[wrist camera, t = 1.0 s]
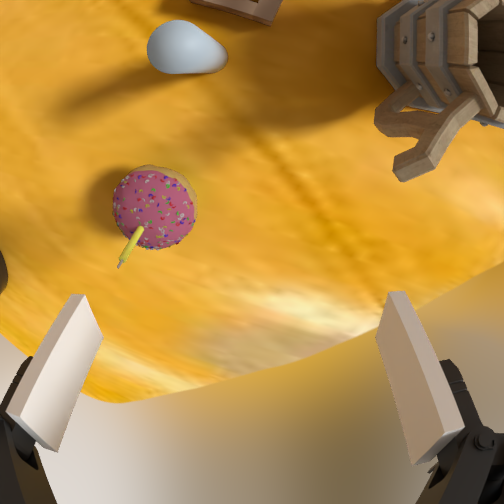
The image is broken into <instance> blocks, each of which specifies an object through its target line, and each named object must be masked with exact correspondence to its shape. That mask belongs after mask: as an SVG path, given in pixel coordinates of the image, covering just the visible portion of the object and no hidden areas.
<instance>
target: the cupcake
mask: <svg viewBox="0 0 504 504" xmlns="http://www.w3.org/2000/svg"><path fill="white" fill-rule="evenodd" d="M113 215H114V217H115V220H116V222H117V226H118V227H119V228H120V230H121V231H122V232H123V235H125V237H126V236H127V237H126V238H128V239H129V242H128V244H127V245H126V247H125V249H124V250H123V252H122V254H121V255H120V257H119V261H120V262H119V264H118V266H117V268H119V267H120V266H121V264H122V263H125V262H126V260H127V258H128V257H129V255H130V253H131V251H132V250H133V248H134V246H135V245H136V246H139V247H140V245H141V247H142V248H144V247H145V248H147V249H146V250H148V249H149V248H150V250H153V249H156V250H159V249H162V248H166V247H171V245H174V244H178V243H179V242H180V241H181V240H182V239H183V238H184V237H185V236H187V235H188V233H189V232H190V231H191V230H192V228H193V225H194V222H195V220H196V218H197V196H196V193H195V191H194V190H193V188H192V187H191V185H190V183H189V182H188V180H187V179H186V178H185V177H184V176H183V175H181V174H180V173H178V172H176V171H173V170H171V169H168V168H164V167H157V166H153V165H144V166H140V167H138V168H135V169H134V170H132V171H131V172H130V173H129V174H128V175H127V176H126V177H125V178H124V179H122V180H121V183H120V184H119V185H118V186H117V187H116V188H115V190H114V197H113Z"/></svg>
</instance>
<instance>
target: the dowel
mask: <svg viewBox="0 0 504 504" xmlns="http://www.w3.org/2000/svg"><path fill="white" fill-rule="evenodd" d="M147 55H148V58H149V61H150V62H151V64H152V65H153V66H154V67H155V68H156V69H158V70H159V71H161V72H164V73H168V74H181V73H215V72H218V71H220V70H221V69H223V68H224V67H225V65H226V63H227V61H228V54H227V51H226V49H225V48H224V47H223V46H222V45H221V44H219V43H218V42H217V41H215V40H214V39H213V38H212V37H210V36H209V35H208V34H206V33H205V32H203V31H202V30H201V29H199V28H198V27H197V26H195V25H194V24H192V23H190V22H188V21H184V20H173V21H169V22H166V23H164V24H162V25H161V26H159V27H158V28H157V29H156V30H155V31H154V32H153V33H152V35H151V36H150V38H149V41H148V44H147Z"/></svg>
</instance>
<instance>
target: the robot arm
mask: <svg viewBox="0 0 504 504" xmlns="http://www.w3.org/2000/svg"><path fill="white" fill-rule="evenodd" d="M7 282H8V273H7V268H6V264H5V261H4V258H3V256H2V253H1V251H0V294H1V293H2V292H3V290H4V289H5V288H6V286H7ZM103 338H104V337H103V335H102V333H101V331H100V329H99V326H98V324H97V322H96V320H95V317H94V315H93V313H92V311H91V308H90V306H89V303H88V301H87V299H86V296H85V295H83V294H71V296H70V297H69V299H68V300H67V302H66V304H65V305H64V307H63V308H62V310H61V311H60V313H59V315H58V316H57V318H56V319H55V321H54V323H53V324H52V326H51V328H50V329H49V331H48V333H47V334H46V336H45V338H44V339H43V341H42V343H41V345H40V346H39V348H38V350H37V352H36V353H35V355H34V357H32V356H29V357H28V358H27V359H26V360H25V361H24V362H23V363H22V364H21V366H20V368H19V370H18V372H17V373H16V374H17V375H16V376H15V377H14V379H13V383H11V385H10V387H9V389H8V391H7V393H6V395H5V397H4V399H3V401H2V403H1V405H0V504H57V502H56V500H55V497H54V495H53V492H52V490H51V487H50V485H49V482H48V480H47V477H46V474H45V471H44V468H43V466H42V463H41V460H40V457H39V453H38V451H37V449H36V447H35V446H34V444H35V442H36V441H37V442H38V443H39V444H40V445H41V446H42V447H43V448H46V449H49V450H52V451H54V452H58V450H59V447H60V444H61V441H62V438H63V435H64V432H65V430H66V427H67V424H68V421H69V419H70V416H71V414H72V411H73V408H74V406H75V403H76V400H77V398H78V396H79V393H80V391H81V388H82V386H83V383H84V381H85V379H86V376H87V374H88V372H89V369H90V367H91V365H92V362H93V360H94V358H95V355H96V353H97V351H98V349H99V346H100V344H101V342H102V340H103ZM375 338H376V341H377V344H378V347H379V351H380V354H381V357H382V360H383V363H384V366H385V369H386V372H387V376H388V379H389V382H390V386H391V388H392V392H393V396H394V399H395V403H396V406H397V410H398V413H399V417H400V420H401V424H402V428H403V432H404V435H405V440H406V444H407V448H408V452H409V455H410V460H411V464H412V466H414V465H418V464H422V463H426V462H429V461H431V460H432V459H433V458H434V457H435V456H436V455H437V457H438V461H439V462H437V463H436V464H435V465H434V466H433V467H432V468H431V469H430V470H429V471H428V473H431V472H432V471H433V473H432V474H431V476H430V478H429V480H428V482H427V484H426V486H425V488H424V490H423V492H422V493H421V495H420V497H419V499H418V500H417V502H416V504H504V433H494V432H493V430H492V429H490V428H488V427H486V426H483V424H482V423H481V421H480V419H479V416H478V413H477V411H476V408H475V406H474V403H473V401H472V398H471V396H470V394H469V392H468V391H467V387H466V384H465V382H463V378H462V375H461V373H460V371H459V369H458V368H457V367H456V366H455V365H454V363H452V361H451V360H450V359H448V360H443V361H438V359H437V356H436V354H435V352H434V350H433V348H432V345H431V343H430V341H429V339H428V337H427V335H426V333H425V330H424V328H423V326H422V325H421V322H420V320H419V318H418V316H417V314H416V312H415V310H414V308H413V306H412V304H411V302H410V300H409V298H408V296H407V295H406V293H405V291H396V292H388V296H387V300H386V303H385V307H384V310H383V314H382V317H381V320H380V324H379V327H378V330H377V334H376V337H375Z"/></svg>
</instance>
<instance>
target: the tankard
mask: <svg viewBox="0 0 504 504" xmlns="http://www.w3.org/2000/svg"><path fill="white" fill-rule="evenodd" d="M376 66H377V67H378V69H379V70H380V71H381V72H382V74H383V75H384V76H385V77H386V79H387V80H388V81H389V83H390V84H391V85H392V86H393V88H394V89H395V90H396V91H394V92H393V93H392V94H391V95H390V96H389V97H387V98H386V99H385V100H384V101H383V102H382V103H381V104H380V105H379V106H378V107H377V108H376V109H375V117H374V124H375V126H376V127H377V128H378V130H379V131H380V132H382V133H383V134H385V135H386V136H387V137H414V138H417V139H419V141H418V142H417V144H416V146H415V147H414V148H411V149H409V150H407V151H405V152H403V153H400V154H398V155H396V156H395V157H394V163H393V170H392V171H393V173H394V174H395V175H396V177H397V178H398V180H399V181H400V182H406V181H409V180H411V179H413V178H416V177H418V176H420V175H422V174H425V173H427V172H429V171H432V170H434V169H435V168H436V166H437V165H438V163H439V161H440V160H441V158H442V156H443V154H444V153H445V151H446V149H447V147H448V146H449V144H450V143H451V141H452V140H453V138H454V137H455V135H456V134H457V132H458V131H459V129H460V128H461V127H463V126H464V125H465V124H466V123H467V122H468V121H469V120H471V119H472V120H475V121H479V122H480V124H481V125H482V126H487V125H488V124H489V125H493V126H496V127H499V128H502V129H504V0H402V1H401V2H399V3H398V4H397V5H395V6H394V7H392V8H391V9H389V10H388V11H387V12H385V13H384V14H383V15H381V16H380V17H378V18H377V56H376ZM406 106H409V107H413V108H418V109H423V110H428V111H433V112H438V113H439V114H433V113H428V112H423V111H409V112H400V111H401V110H402V109H403V108H404V107H406Z"/></svg>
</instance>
